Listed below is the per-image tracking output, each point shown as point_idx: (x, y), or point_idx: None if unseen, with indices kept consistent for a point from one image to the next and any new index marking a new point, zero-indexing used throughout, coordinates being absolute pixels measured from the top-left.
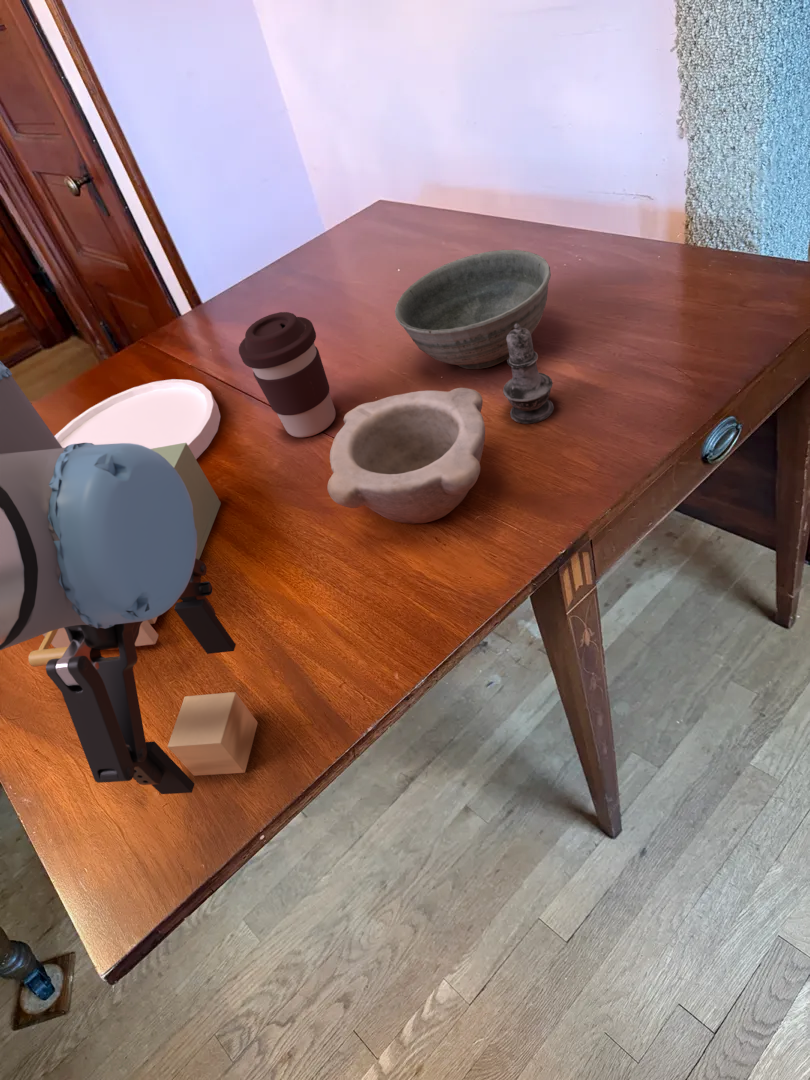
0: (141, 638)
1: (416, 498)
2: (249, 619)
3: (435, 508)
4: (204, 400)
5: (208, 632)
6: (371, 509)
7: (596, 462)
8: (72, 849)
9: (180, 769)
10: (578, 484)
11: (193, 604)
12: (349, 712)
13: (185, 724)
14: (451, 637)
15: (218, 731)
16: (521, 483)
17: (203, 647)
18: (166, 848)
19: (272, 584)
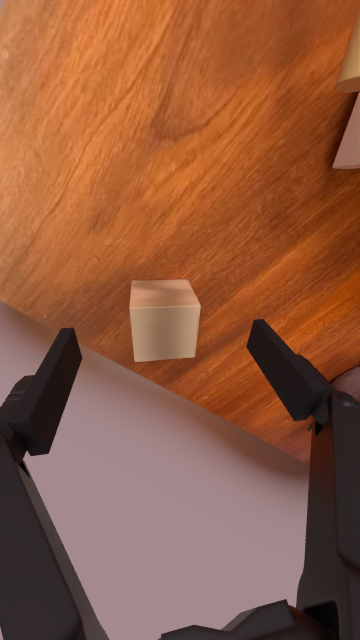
0: (351, 147)
1: None
2: (306, 285)
3: None
4: None
5: (268, 362)
6: (356, 387)
7: (310, 443)
8: (6, 121)
9: (72, 384)
10: (301, 440)
11: (304, 411)
12: (182, 380)
13: (159, 320)
14: (225, 415)
15: (148, 355)
16: None
17: (259, 328)
18: (50, 275)
19: (338, 297)
